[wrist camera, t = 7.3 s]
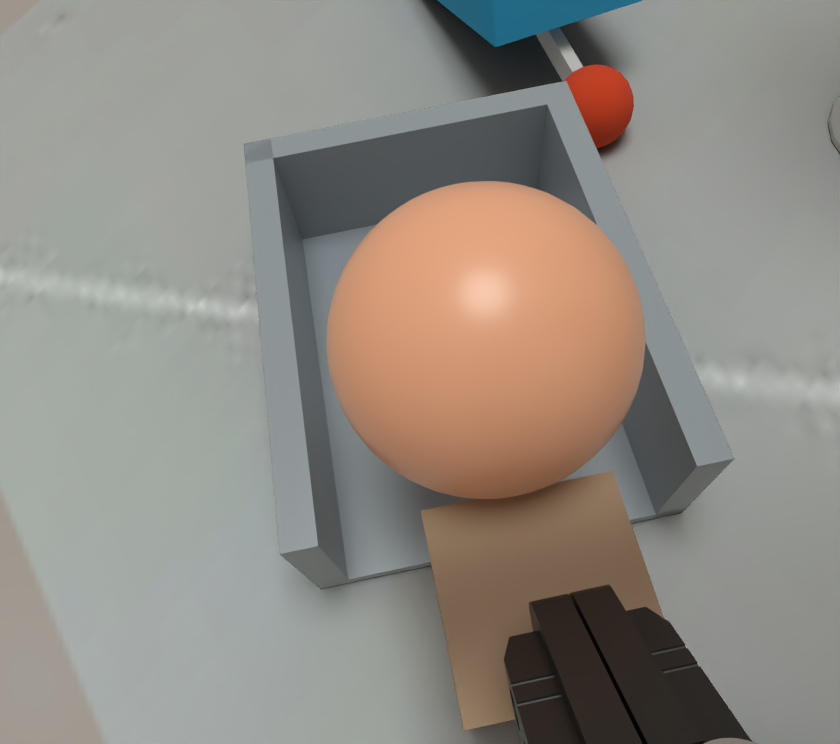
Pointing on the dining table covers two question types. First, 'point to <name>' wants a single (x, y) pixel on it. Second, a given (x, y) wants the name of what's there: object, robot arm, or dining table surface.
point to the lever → (558, 52)
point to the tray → (323, 265)
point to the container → (835, 124)
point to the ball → (485, 340)
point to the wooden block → (524, 574)
